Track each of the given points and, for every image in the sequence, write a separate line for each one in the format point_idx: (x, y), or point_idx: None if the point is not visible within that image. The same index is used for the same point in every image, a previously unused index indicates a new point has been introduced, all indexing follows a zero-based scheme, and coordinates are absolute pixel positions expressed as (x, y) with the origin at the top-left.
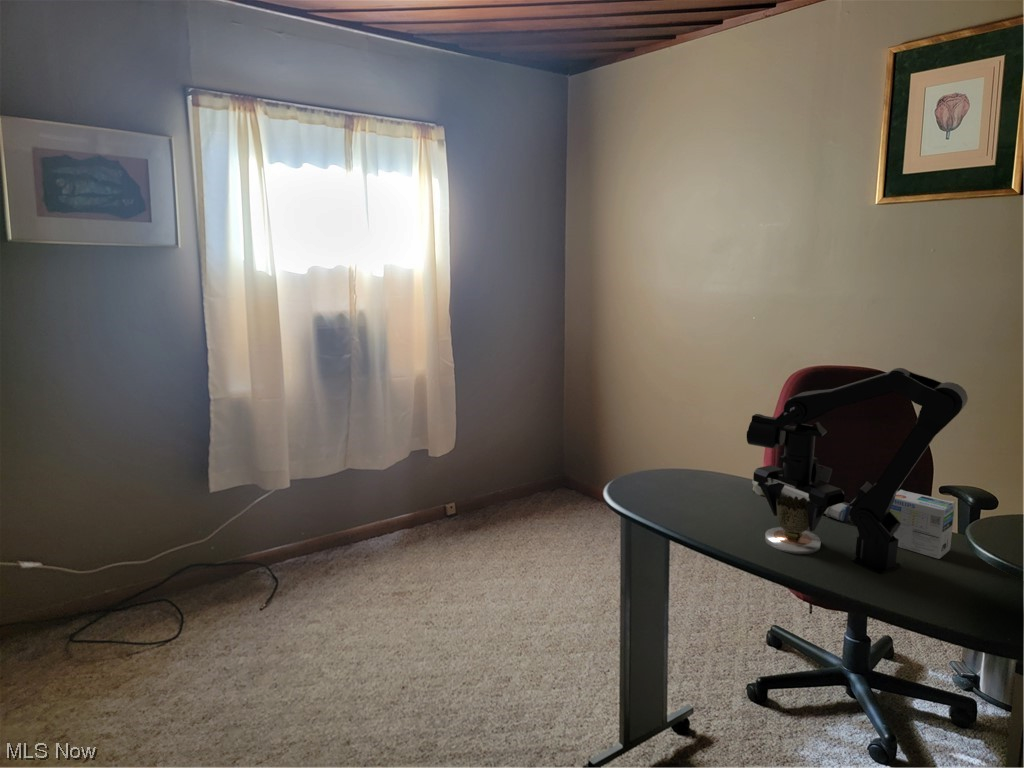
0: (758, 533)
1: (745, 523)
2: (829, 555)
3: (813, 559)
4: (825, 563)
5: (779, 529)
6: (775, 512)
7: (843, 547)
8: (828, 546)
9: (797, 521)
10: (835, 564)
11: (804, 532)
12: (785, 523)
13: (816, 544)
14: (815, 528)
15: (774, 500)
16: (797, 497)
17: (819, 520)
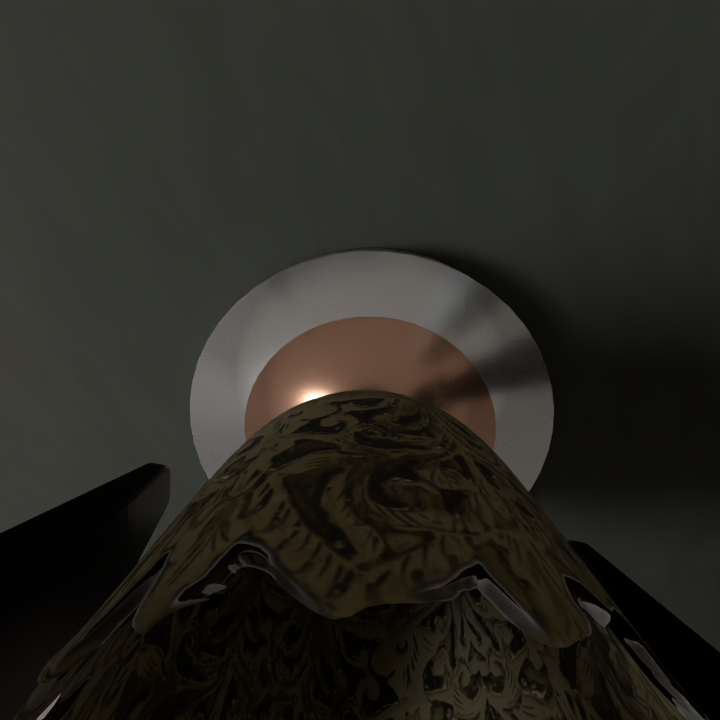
0: (163, 441)
1: (2, 367)
2: (612, 419)
3: (551, 518)
4: (618, 517)
5: (233, 384)
6: (148, 538)
7: (667, 230)
8: (569, 298)
9: (469, 686)
10: (668, 494)
11: (383, 296)
12: (359, 645)
13: (537, 429)
14: (601, 559)
15: (9, 702)
16: (192, 604)
17: (709, 652)
